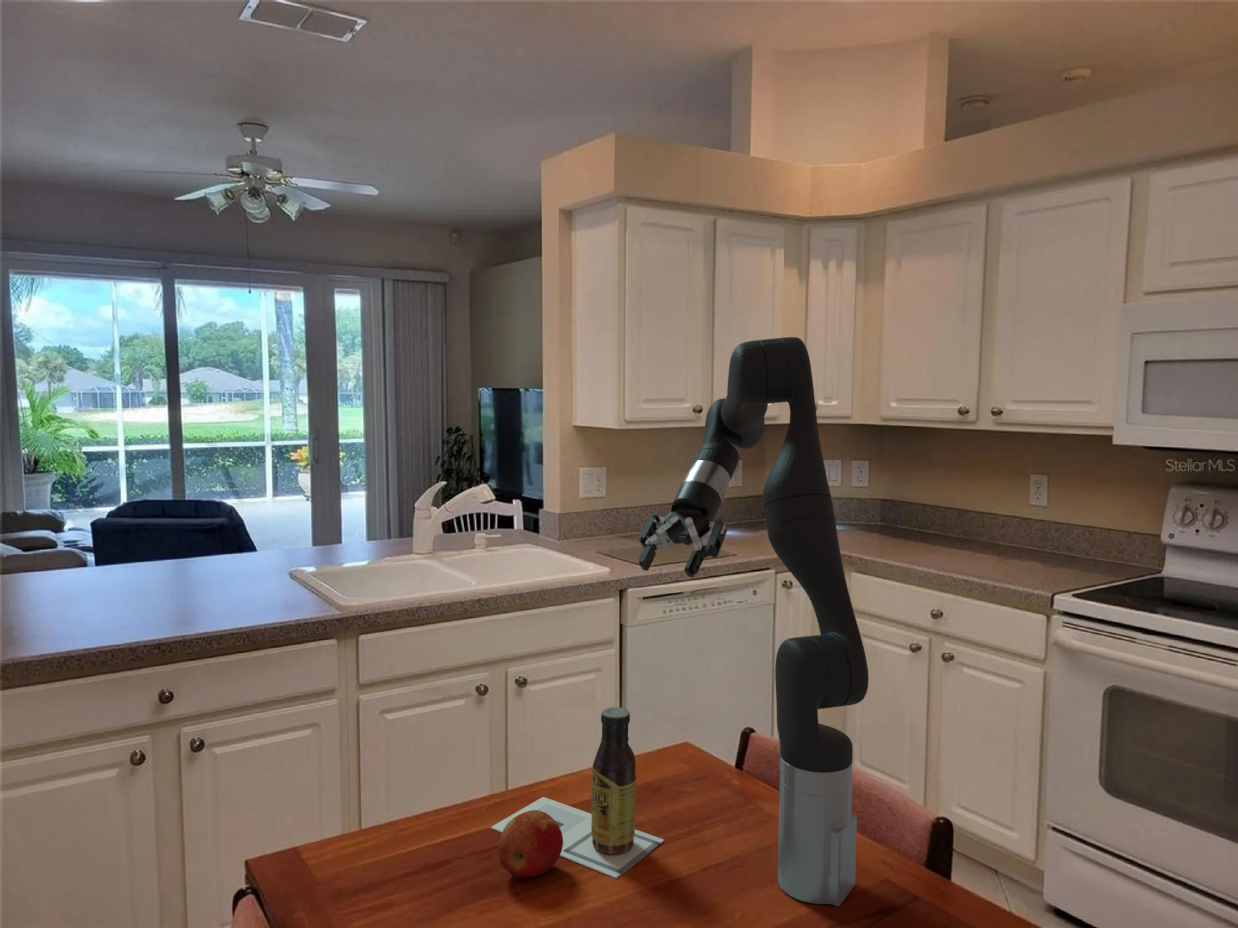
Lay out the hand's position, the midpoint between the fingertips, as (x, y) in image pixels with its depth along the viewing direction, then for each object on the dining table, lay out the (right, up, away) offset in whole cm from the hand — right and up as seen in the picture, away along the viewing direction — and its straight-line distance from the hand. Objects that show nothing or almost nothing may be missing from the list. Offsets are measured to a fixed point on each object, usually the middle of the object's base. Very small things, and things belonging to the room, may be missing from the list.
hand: (665, 570), depth 134 cm
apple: (-20, -38, -21) cm, 48 cm away
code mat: (-14, -37, -11) cm, 41 cm away
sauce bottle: (-8, -38, -14) cm, 41 cm away
